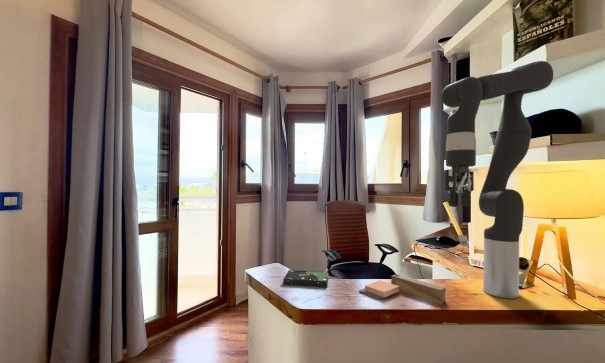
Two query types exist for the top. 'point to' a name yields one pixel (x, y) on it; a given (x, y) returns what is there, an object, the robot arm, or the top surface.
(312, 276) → the disk drive
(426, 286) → the block
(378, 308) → the top surface
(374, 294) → the mat
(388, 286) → the tile
